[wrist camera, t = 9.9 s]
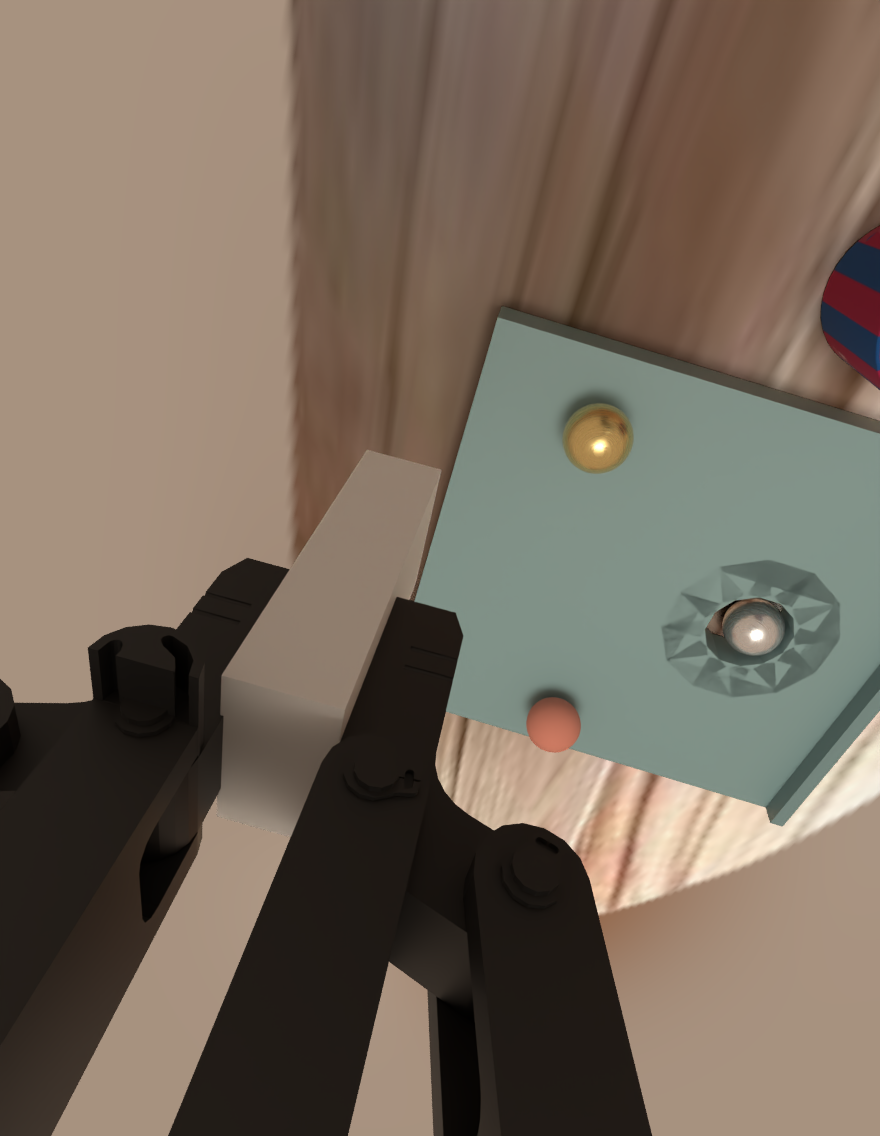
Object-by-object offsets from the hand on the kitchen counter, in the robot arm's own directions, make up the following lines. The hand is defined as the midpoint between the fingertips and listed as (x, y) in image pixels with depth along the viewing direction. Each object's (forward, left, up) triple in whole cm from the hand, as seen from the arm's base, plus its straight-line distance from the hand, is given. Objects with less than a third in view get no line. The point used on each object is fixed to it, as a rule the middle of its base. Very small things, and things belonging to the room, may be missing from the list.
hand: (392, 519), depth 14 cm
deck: (+12, +14, -23) cm, 30 cm away
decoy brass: (+4, +7, -19) cm, 21 cm away
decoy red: (+21, +11, -19) cm, 30 cm away
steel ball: (+12, +19, -22) cm, 31 cm away
